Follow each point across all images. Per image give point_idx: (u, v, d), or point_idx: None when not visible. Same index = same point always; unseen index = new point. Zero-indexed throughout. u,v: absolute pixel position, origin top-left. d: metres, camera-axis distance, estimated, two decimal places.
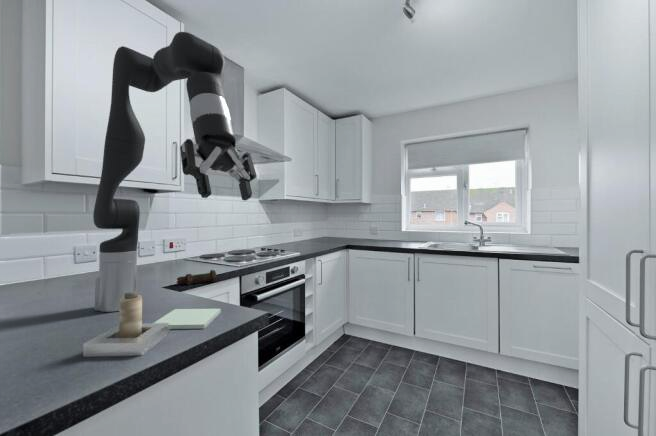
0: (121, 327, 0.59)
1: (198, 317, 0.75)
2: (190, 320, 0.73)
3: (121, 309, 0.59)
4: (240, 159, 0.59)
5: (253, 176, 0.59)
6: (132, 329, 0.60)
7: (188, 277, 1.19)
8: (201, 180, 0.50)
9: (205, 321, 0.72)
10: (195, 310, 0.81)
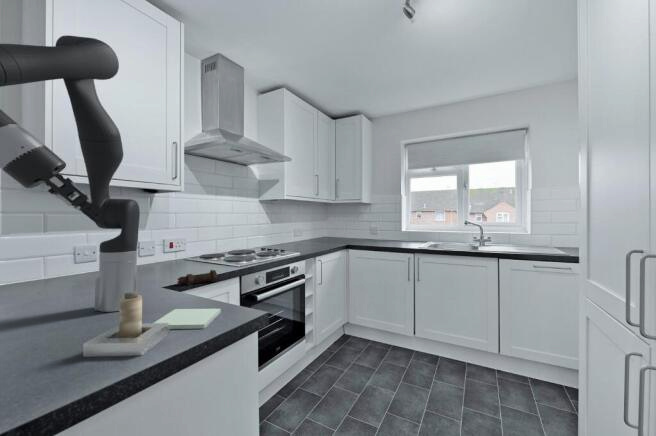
0: (121, 327, 0.59)
1: (198, 317, 0.75)
2: (190, 320, 0.73)
3: (121, 309, 0.59)
4: None
5: None
6: (132, 329, 0.60)
7: (189, 277, 1.18)
8: None
9: (205, 321, 0.72)
10: (195, 310, 0.81)
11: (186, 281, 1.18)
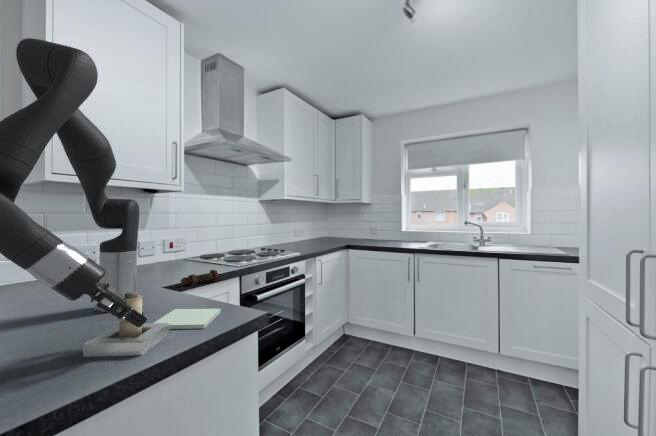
0: (121, 327, 0.59)
1: (198, 317, 0.75)
2: (190, 320, 0.73)
3: (121, 309, 0.59)
4: None
5: None
6: (132, 329, 0.60)
7: (193, 278, 1.18)
8: None
9: (205, 321, 0.72)
10: (195, 310, 0.81)
11: (190, 282, 1.17)
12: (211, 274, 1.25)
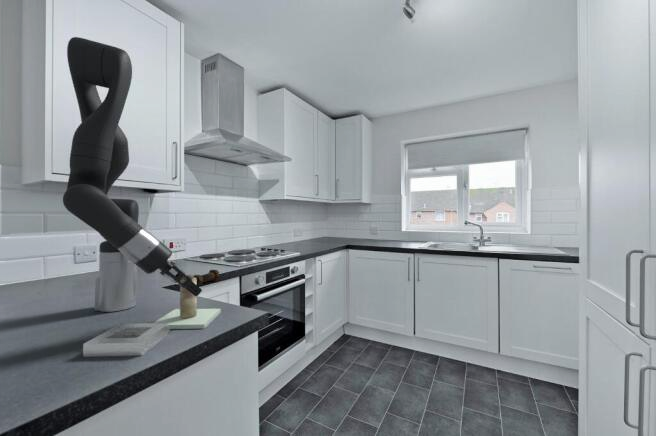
0: (182, 302, 0.74)
1: (198, 317, 0.75)
2: (190, 320, 0.73)
3: (182, 288, 0.75)
4: None
5: None
6: (190, 303, 0.75)
7: (200, 278, 1.18)
8: None
9: (205, 321, 0.72)
10: None
11: (197, 282, 1.17)
12: (213, 274, 1.26)
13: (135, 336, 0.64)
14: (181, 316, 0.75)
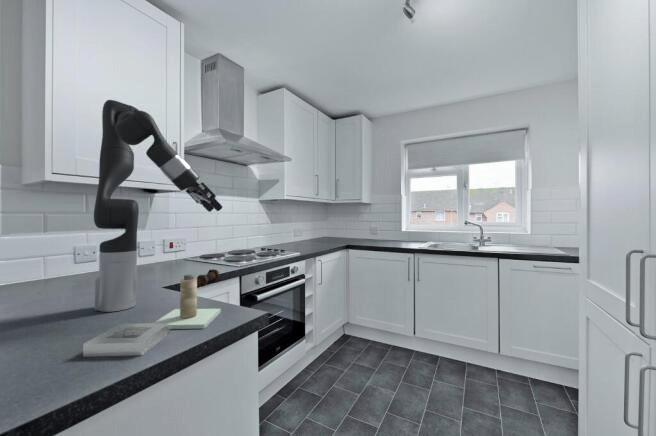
0: (182, 302, 0.74)
1: (198, 317, 0.75)
2: (190, 320, 0.73)
3: (182, 288, 0.74)
4: None
5: None
6: (190, 303, 0.75)
7: (205, 277, 1.18)
8: None
9: (205, 321, 0.72)
10: None
11: (203, 282, 1.17)
12: (213, 273, 1.27)
13: (135, 336, 0.64)
14: (181, 316, 0.75)
